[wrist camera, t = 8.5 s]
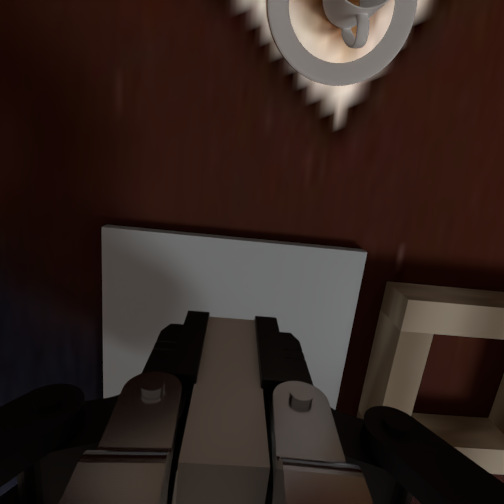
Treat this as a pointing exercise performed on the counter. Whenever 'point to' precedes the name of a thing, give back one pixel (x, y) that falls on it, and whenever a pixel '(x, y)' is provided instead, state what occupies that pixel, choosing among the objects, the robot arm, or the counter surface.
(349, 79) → the teacup and saucer
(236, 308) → the pad
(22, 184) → the counter surface
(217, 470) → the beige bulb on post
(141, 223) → the counter surface
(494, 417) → the frame
